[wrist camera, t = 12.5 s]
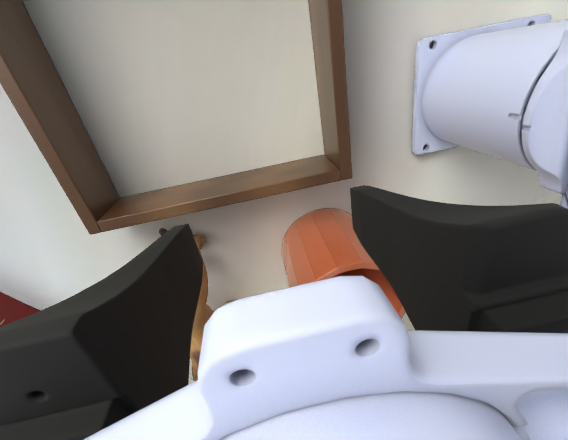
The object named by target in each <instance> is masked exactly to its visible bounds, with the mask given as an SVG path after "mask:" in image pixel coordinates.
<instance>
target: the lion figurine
mask: <svg viewBox="0 0 568 440" xmlns="http://www.w3.org/2000/svg"><path fill="white" fill-rule="evenodd" d="M166 232H167V230H166V229H164V228H161V229H159V233H160V235H161V236H162V235H163V234H165V233H166ZM194 239H195V242H196V244H197V247H198V249H199V252H200V254H201V251H200V249H202V247H203V246H204V244H205V239H204V237H203V236H202V235H195V236H194ZM201 257H202V255H201ZM202 260H203V258H202ZM207 295H208V277H207V271H206V267H205V264H204V261H203V278H202V285H201V290H200V295H199V300H198V304H197V309H196V314H195V319H194V323H193V330H192V338H191V349H190V358H191V360H192V375H193V380H194V381H197V380H198V366H199V359H200V352H201V346H202V339H203V332H204V325H205V324H206V323H207V321H208V320H209V319H210V317H211V316H212V314H213V313H214V312H213V311H212V310H211V308H210V307H209V306H208V305H207V304H206V302H207ZM229 303H231V302H227V303H224V304H223V306H225V305H227V304H229Z"/></svg>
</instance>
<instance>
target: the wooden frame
mask: <svg viewBox="0 0 568 440" xmlns="http://www.w3.org/2000/svg"><path fill="white" fill-rule="evenodd" d="M308 2H309V11H310V21H311V30H312V40H313V49H314V58H315V68H316V77H317V87H318V96H319V105H320V115H321V124H322V134H323V143H324V152H325V155H320V156H315V157H311V158H306V159H301V160H296V161H292V162H287V163H282V164H278V165H273V166H268V167H263V168H259V169H254V170H249V171H245V172H240V173H235V174H230V175H226V176H221V177H216V178H212V179H207V180H202V181H197V182H193V183H188V184H183V185H179V186H174V187H169V188H164V189H160V190H155V191H150V192H146V193H141V194H136V195H132V196H127V197H122V198H119V196H118V194H117V192H116V190H115V188H114V186H113V184H112V182H111V180H110V178H109V176H108V174H107V172H106V170H105V168H104V166H103V164H102V162H101V160H100V158H99V156H98V154H97V152H96V150H95V148H94V146H93V144H92V142H91V140H90V138H89V136H88V134H87V132H86V130H85V128H84V126H83V124H82V122H81V120H80V118H79V116H78V114H77V112H76V110H75V108H74V106H73V104H72V101H71V99H70V97H69V95H68V93H67V91H66V89H65V87H64V85H63V83H62V81H61V79H60V77H59V75H58V73H57V71H56V69H55V67H54V65H53V63H52V61H51V59H50V57H49V55H48V53H47V51H46V49H45V47H44V45H43V43H42V41H41V39H40V37H39V35H38V33H37V31H36V29H35V27H34V25H33V23H32V21H31V19H30V17H29V15H28V13H27V11H26V9H25V7H24V5H23V3H22V1H21V0H0V83H1V85H2V87H3V88H4V90H5V92H6V94H7V95H8V97H9V99H10V100H11V102H12V104H13V105H14V107H15V109H16V110H17V112H18V114H19V115H20V117H21V119H22V121H23V122H24V124H25V126H26V127H27V129H28V131H29V132H30V134H31V136H32V137H33V139H34V141H35V142H36V144H37V146H38V148H39V149H40V151H41V153H42V154H43V156H44V158H45V159H46V161H47V163H48V164H49V166H50V168H51V169H52V171H53V173H54V175H55V176H56V178H57V180H58V181H59V183H60V185H61V186H62V188H63V190H64V191H65V193H66V195H67V196H68V198H69V200H70V202H71V203H72V205H73V207H74V208H75V210H76V212H77V213H78V215H79V217H80V218H81V220H82V222H83V223H84V225H85V227H86V229H87V230H88V232H89V234H95V233H100V232H105V231H110V230H114V229H119V228H124V227H128V226H133V225H137V224H142V223H147V222H151V221H156V220H161V219H165V218H170V217H174V216H179V215H184V214H188V213H193V212H198V211H202V210H207V209H211V208H216V207H221V206H225V205H230V204H234V203H239V202H244V201H248V200H253V199H258V198H262V197H267V196H271V195H276V194H281V193H285V192H290V191H295V190H299V189H304V188H308V187H313V186H318V185H322V184H327V183H332V182H336V181H340V180H345V179H350V178H352V164H351V147H350V131H349V114H348V98H347V82H346V65H345V49H344V32H343V16H342V0H308Z"/></svg>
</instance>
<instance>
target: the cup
mask: <svg viewBox="0 0 568 440" xmlns="http://www.w3.org/2000/svg"><path fill="white" fill-rule="evenodd" d="M282 257H283V261H284V266H285V270H286V275H287V279H288V284H289V288H290V287H294V286H299V285H303V284H307V283H312V282H316V281H320V280H325V279H329V278H334V277H338V276H364V277H365V278H367V279H369V280H371V281H373V282H375V283H376V284H378V285H379V286H380V287H381V289H382V290H383V292H384V293H385V295H386V296H387V298H388V299H389V301H390V303H391V304H392V306H393V307H394V309H395V310H396V312H397V313H398V315H399V316H400V318H401V319H402V317H403V315H404V314H405V312H406V311H405V310H404V308H403V306H402V304H401V302H400V301H399V299H398V297H397V295H396V294H395V292H394V290H393V288H392V287H391V285H390V284H389V282H388V281H387V279H386V278H385V276H384V275H383V274H382V272H381V271H380V270H379V268H378V267H377V266H376V264H375V263H374V261H373V260H372V259H371V257H370V256H369V255H368V253H367V252H366V251H365V249H364V248H363V246H362V245H361V243H360V241H359V239H358V238H357V236H356V234H355V232H354V230H353V224H352V215H351V214H350V213H348V212H346V211H343V210H340V209H334V208H324V209H318V210H315V211H312V212H309V213H307V214H305V215H303V216H302V217H300V218H299V219H298V220H296V221H295V222H294V223H293V224H292V225H291V227H290V228H289V229H288V231H287V232H286V234H285V236H284V239H283V243H282Z"/></svg>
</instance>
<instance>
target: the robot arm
mask: <svg viewBox="0 0 568 440" xmlns="http://www.w3.org/2000/svg"><path fill="white" fill-rule="evenodd" d="M551 19H552V18H551V15H550V14H543V15H538V16H533V17H528V18H523V19H518V20H513V21H508V22H503V23H497V24H492V25H487V26H482V27H477V28H472V29H467V30H462V31H457V32H452V33H447V34H442V35H437V36H432V37H427V38H423V39H421V40H420V41H419V42H418V43H417V45H416V58H415V82H414V105H413V128H412V152H413V153H414V154H416V155H421V154H426V153H431V152H435V151H440V150H445V149H449V148H454V147H458V146H462V147H465V148H468V149H471V150H474V151H477V152H480V153H483V154H486V155H489V156H492V157H495V158H498V159H501V160H505V161H508V162H511V163H514V164H517V165H520V166H523V167H526V168H529V169H532V170H535V171H538V173H539V176H540V186H542V187H544V188H547V189H550V190H552V191H555V192H558V193H560V194H562V198H561V203H560V205H558V204H553V203H549V204H533V205H517V206H473V205H458V204H447V203H440V202H433V201H427V200H422V199H417V198H412V197H408V196H404V195H400V194H396V193H393V192H389V191H386V190H382V189H379V188H375V187H371V186H364V185H363V186H359V187H354V188H350V194H351V209H352V224H353V230H354V232H355V234H356V236H357V238H358V239H359V241H360V243H361V245H362V246H363V248H364V249H365V251H366V252H367V253H368V255H369V256H370V257H371V259H372V260H373V261H374V263H375V264H376V266H377V267H378V268H379V270H380V271H381V272H382V274H383V275H384V276H385V278H386V279H387V281H388V282H389V284H390V285H391V287H392V288H393V290H394V292H395V294H396V295H397V297H398V299H399V301H400V302H401V304H402V306H403V308H404V310H405V311H406V313H407V315H408V317H409V319H410V321H411V323H412V325H413V326H414V328H415V330H406V327H405V324H404V322H403V321H402V319H401V318H400V316H399V315H398V313H397V312H396V310H395V309H394V307H393V306H392V304H391V303H390V301H389V299H388V298H387V296H386V295H385V293H384V292H383V290H382V289H381V287H380V286H379V285H378V284H376V283H375V282H373V281H371V280H369V279H367V278H365V277H364V276H338V277H334V278H329V279H325V280H320V281H316V282H312V283H307V284H303V285H299V286H294V287H290V288H286V289H281V290H277V291H273V292H268V293H264V294H259V295H255V296H251V297H246V298H242V299H238V300H236V301H233V302H231V303H229V304H227V305H225V306H223V307H220V308H218V309H216V310H215V312H214V313H213V314H212V316H211V317H210V319H209V320H208V321H207V323H206V324H205V325H204V332H203V339H202V346H201V352H200V359H199V366H198V380H197V381H195V382H193V383H191V384H189V385H188V378H189V362H190V349H191V338H192V330H193V323H194V319H195V314H196V309H197V304H198V300H199V295H200V290H201V285H202V278H203V260H202V257H201V254H200V252H199V249H198V247H197V244H196V242H195V239H194V236H193V234H192V231H191V229H190V226H189V224H184V225H180V226H175V227H173V228H171V229H170V230H168V231H167V232H166V233H165V234H163V235H162V236H161V237H160V238H159V239H157V240H156V241H155V242H154V243H152V244H151V245H150V246H149V247H148V248H146V249H145V250H144V251H143V252H141V253H140V254H139V255H138V256H136V257H135V258H134V259H132V260H131V261H130V262H128V263H127V264H126V265H124V266H123V267H121V268H120V269H119V270H117V271H116V272H114V273H112V274H111V275H109V276H108V277H106V278H105V279H103V280H101V281H100V282H98V283H96V284H94V285H92V286H90V287H89V288H87V289H85V290H83V291H81V292H80V293H78V294H76V295H74V296H72V297H70V298H68V299H66V300H64V301H62V302H60V303H57V304H55V305H53V306H51V307H49V308H46V309H44V310H42V311H40V312H37V313H35V314H32V315H30V316H27V317H25V318H22V319H20V320H17V321H15V322H12V323H10V324H7V325H4V326H2V327H0V440H568V19H567V20H561V21H555V22H551ZM529 23H530V26H528V24H529ZM431 41H432V42H433V47H432V49H430V47H429V45H430V42H431ZM424 145H426V148H425V149H424V150H423V146H424Z"/></svg>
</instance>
